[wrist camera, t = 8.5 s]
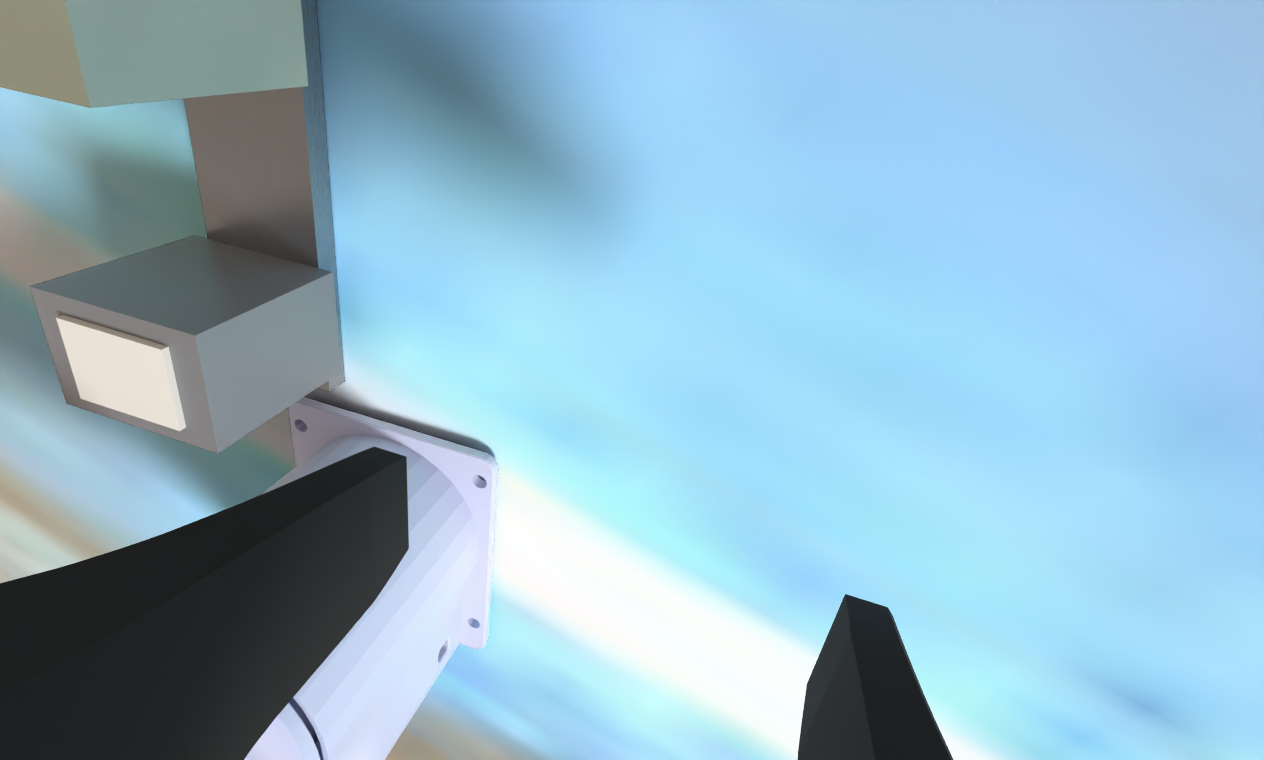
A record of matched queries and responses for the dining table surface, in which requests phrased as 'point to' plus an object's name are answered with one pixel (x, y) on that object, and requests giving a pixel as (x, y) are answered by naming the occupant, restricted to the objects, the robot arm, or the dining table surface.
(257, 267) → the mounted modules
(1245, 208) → the dining table surface
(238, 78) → the block
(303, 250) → the steel rail
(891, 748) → the robot arm
